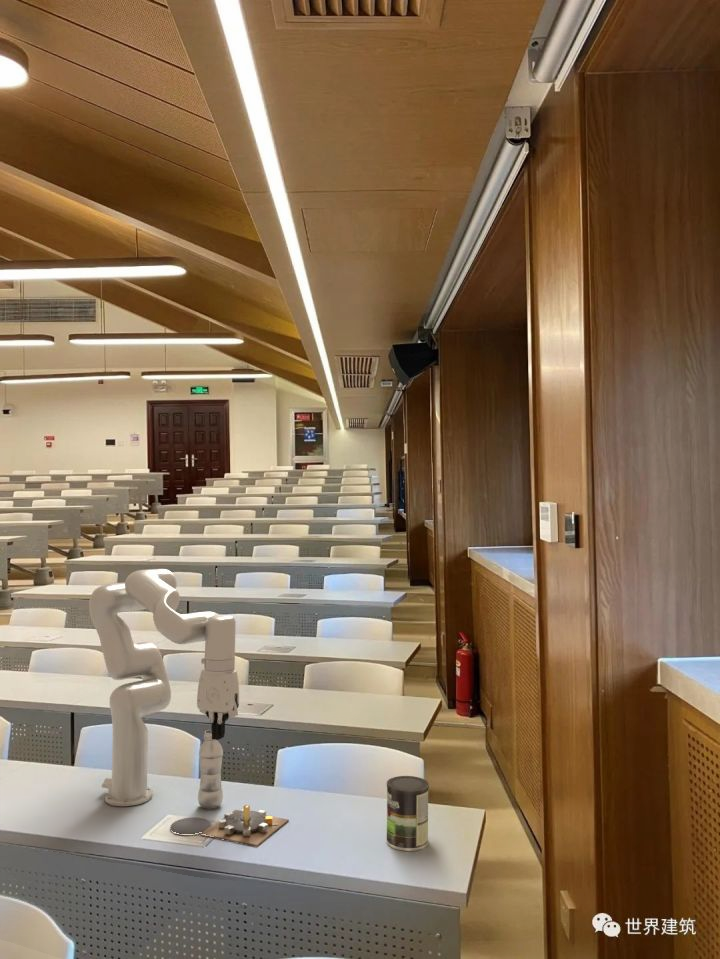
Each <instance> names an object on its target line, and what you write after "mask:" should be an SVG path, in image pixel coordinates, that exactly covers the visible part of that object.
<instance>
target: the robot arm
mask: <svg viewBox="0 0 720 959" xmlns="http://www.w3.org/2000/svg"><path fill="white" fill-rule="evenodd" d="M176 579H177V578H176V576H175V575H174V573H173V572H171V571H170V570H169V569H166V568H153V569H140V570H135V571H133V572H131V573H130V574H129V575H127V577H126V579H125V581H124V582H114V583H107V584H103V585H100V586H98V587H97V588H95V589H94V590H92V592H91V595H90V597H89V603H88V611H89V617H90V619H91V622H92V624H93V626H94V628H95V630H96V633H97V635H98V638H99V641H100V646H101V650H102V655H103V658H104V663H105V667H106V671H107V673H108V675H109V677H110V678H111V679H112V680H114V681H124V680H130V679H134V678H138V677H139V678H140V677H141V679H142V680H137V681H132V682H128V683H123V684H121V685H119V686H118V687H116V688H115V689H113V690H112V692H111V694H110V695H109V710H110V715H111V723H112V744H111V745H112V750H111V754H112V755H111V761H112V762H111V777H105V779H104V781H103V782H102V784H101V787H102V788H104V789H107V791H108V792H107V793H106V795H105V796H104V797H105V798H104V800H105V803H107V804H108V805H110V806H112V807H113V806H114V807H131V806H138V805H141V804H143V803H146V802H148V801H150V800H151V799H152V798H153V795H154V794H153V790H152V788H150V787H148V766H149V763H148V762H149V761H148V760H149V731H148V727H147V725H146V724H145V722H144V721H143V719H142V718H143V716H147V715H150V714H153V713H158V712H161V711H163V710H165V709H167V708H168V706H169V705H170V703H171V699H172V690H171V689H172V688H171V686H170V680H169V677H168V674H167V670H166V666H165V663H164V659H163V655H162V653H161V651H160V648H158V647H157V646H156V644H154V643H152V642H149V641H148V642H147V641H143V642H137V643H136V642H134V640H133V638H132V633H131V630H130V627H129V626H128V624H127V623H126V622H125V620H124V619H122V618H121V617H120V616H119V615H118V614H119V613H127V612H135V611H136V612H137V611H143V610H148V611H149V612H151V613H152V617H153V618H152V620H153V623H154V625H155V629H156V630H157V632H158V633H160V634H161V635H162V636H163V637H165V639H168V640H169V641H170V642H172V643H174V644H176V645H177V644H178V645H187V644H188V645H189V644H193V643H200V642H204V658H202V659H200V660H201V661H200V663H201V664H202V665H203V669H201V671H200V674H199V675H200V676H199V681H198V686H197V695H196V707H197V709H198V710H199V713H201V714H203V715H206V717H207V718H208V720H209V723H211V726H210V727H211V729H210V730H211V734H212V739H216V740H218V741H219V740H221V739H223V738H224V737H225V733H226V722H227V721H228V720H229V719H231V718H235V717H237V716H238V715H239V713H238V712H239V711H238V708H239V707H240V684H239V677H238V673H237V672H238V671H237V669H235V668H236V666H235V664H236V663H235V662H236V627H237V626H236V625H237V624H236V622H237V621H236V618H235V617H234V616H232V615H227V614H220V613H216V612H214V611H208V610H207V611H206V610H205V611H200V612H199V611H198V612H190V613H184V614H183V613H182V614H181V613H178V612H176V610H177V609H178V607H179V604H180V599H181V597H180V596H181V595H180V594H179V591H178V589H177V580H176Z"/></svg>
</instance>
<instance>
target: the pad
mask: <svg viewBox="0 0 720 959" xmlns="http://www.w3.org/2000/svg"><path fill="white" fill-rule="evenodd" d="M211 826H212V822H211V820H209V819H207V818H205V817H199V816H193V817H191V816H190V817H184V818H180V819H178V820H175V821H174V822H172V823H171V825H170V828H171V829H170V831H171V830H172V831H173V832H176V833H179V834H195V833H199V832H203V831H205V830H206V829H208V828H209V827H211Z"/></svg>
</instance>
